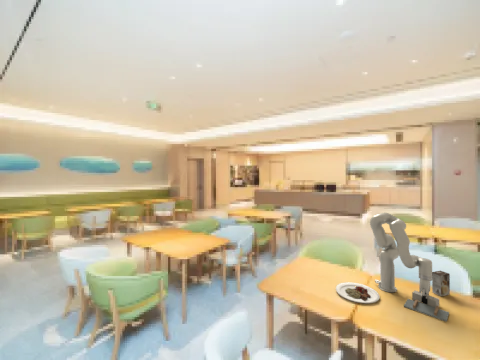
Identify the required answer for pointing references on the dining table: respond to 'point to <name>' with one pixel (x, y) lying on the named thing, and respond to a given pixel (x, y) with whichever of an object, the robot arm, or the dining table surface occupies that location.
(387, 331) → the dining table surface
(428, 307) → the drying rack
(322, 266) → the dining table surface
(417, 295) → the light grey block
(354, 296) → the plated food
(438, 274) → the coffee box
